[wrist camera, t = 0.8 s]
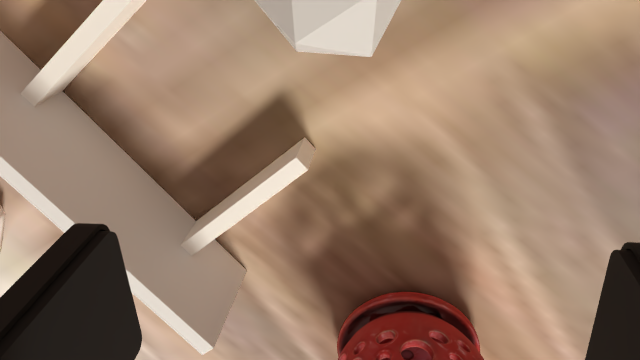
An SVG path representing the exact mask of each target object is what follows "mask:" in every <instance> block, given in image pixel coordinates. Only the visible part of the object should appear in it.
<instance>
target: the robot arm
mask: <svg viewBox="0 0 640 360" xmlns="http://www.w3.org/2000/svg"><path fill="white" fill-rule="evenodd" d="M141 342H142V334H141V329H140V325H139V321H138V317H137V313H136V309H135V305H134V301H133V297H132V293H131V289H130V285H129V281H128V276H127V272H126V268H125V264H124V260H123V256H122V252H121V248H120V244H119V240H118V237H117V235H116V233H115V232H112V231H110V230H109V228H108V227H107V225H104V224H89V223H76V224H74V225H72V226H71V227H70V228H69V229H68V230H67V231H66V232H65V233H64V234H63V235H62V236H61V237H60V238H59V239H58V240H57V241H56V242H55V243H54V244H53V245H52V246H51V247H50V248H49V249H48V250H47V251H46V252H45V253H44V254H43V255H42V256H41V257H40V258H39V259H38V260H37V261H36V262H35V263H34V264H33V265H32V266H31V267H30V268H29V269H28V270H27V271H26V272H25V273H24V274H23V275H22V276H21V277H20V278H19V279H18V280H17V281H16V282H15V283H14V284H13V285H12V286H11V287H10V288H9V289H8V290H7V291H6V292H5V294H4V295H3V296H2V297H1V298H0V360H134V359H135V358H136V356H137V354H138V352H139V350H140V347H141ZM585 360H640V243H633V242H627V243H625V244H624V245H623V247H622V249H621V250H614V251H613V252H612V253H611V256H610V259H609V263H608V267H607V271H606V276H605V280H604V284H603V288H602V292H601V296H600V300H599V305H598V309H597V313H596V317H595V321H594V325H593V329H592V333H591V338H590V342H589V346H588V350H587V354H586V358H585Z"/></svg>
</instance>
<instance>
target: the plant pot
mask: <svg viewBox="0 0 640 360" xmlns="http://www.w3.org/2000/svg"><path fill="white" fill-rule="evenodd" d="M337 351H338V356H339V358H338V360H484V359H483V357H482V356H481V354H480V345H479V340H478V337H477V334H476V331H475V329H474V327H473V326H472V324H471V322H470V321H469V320H468V318H467V317H466V316H465V315H464V314H463V313H462V312H461V311H460V310H458V309H457V308H456V307H454V306H453V305H451V304H450V303H447V302H446V301H444V300H442V299H440V298H437V297H434V296H431V295H428V294H423V293H417V292H396V293H388V294H384V295H381V296H378V297H375V298H373V299H371V300H369V301H367V302H365V303H364V304H362V305H361V306H359V307H358V308H357V309H355V310H354V311H353V312H352V313H351V314H350V315H349V316H348V318H347V319H346V320H345V322H344V323H343V325H342V327H341V330H340V333H339V336H338V341H337Z"/></svg>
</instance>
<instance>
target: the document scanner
mask: <svg viewBox="0 0 640 360" xmlns="http://www.w3.org/2000/svg"><path fill="white" fill-rule="evenodd" d="M4 222H5V212H4V210H3V208H2V206H1V205H0V252H1V249H2V240H3V231H4Z"/></svg>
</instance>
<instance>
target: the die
mask: <svg viewBox="0 0 640 360" xmlns="http://www.w3.org/2000/svg"><path fill="white" fill-rule="evenodd" d="M400 1H401V0H255V2H256V3H257V4H258V5H259V7H260V8H261V9H262V10H263V11H264V13H265V14H266V15H267V16H268V17H269V19H270V20H271V21H272V22H273V23H274V25H275V26H276V27H277V28H278V30H279V31H280V32H281V33H282V34H283V36H284V37H285V38H286V39H287V40H288V42H289V43H290V44H291V45H292V46H293V48H294V49H295V50H296V51H299V52H312V53H326V54H339V55H352V56H365V57H372V55H373V53H374V51H375V49H376V47H377V45H378V43H379V41H380V40H381V38H382V36H383V34H384V32H385V30H386V28H387V26H388V24H389V22H390V20H391V19H392V17H393V15H394V13H395V11H396V9H397V7H398V5H399V3H400Z"/></svg>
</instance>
